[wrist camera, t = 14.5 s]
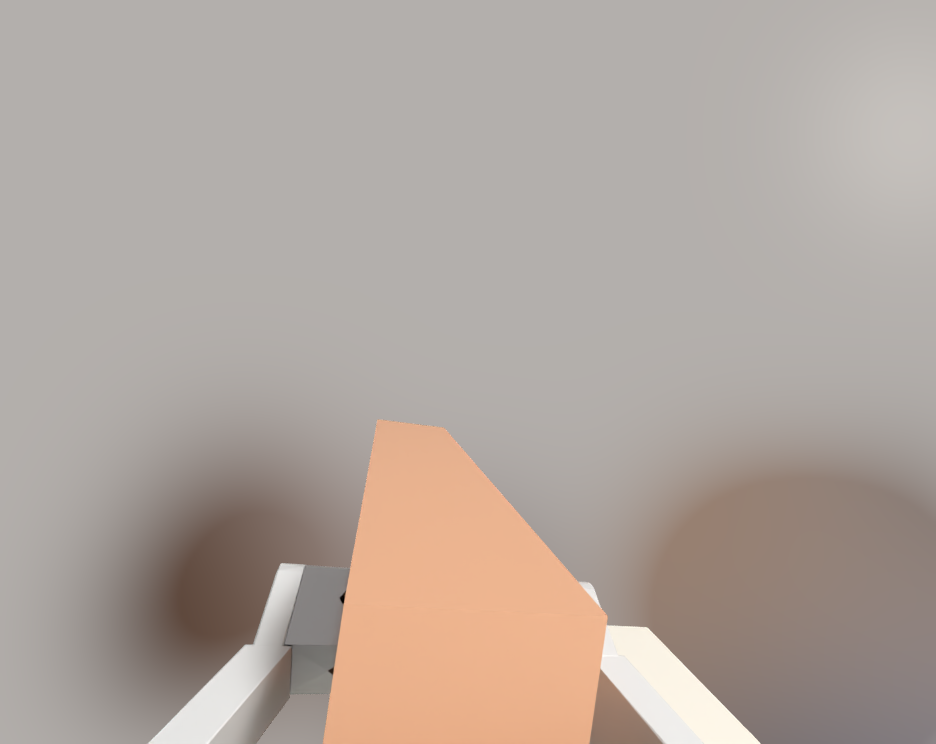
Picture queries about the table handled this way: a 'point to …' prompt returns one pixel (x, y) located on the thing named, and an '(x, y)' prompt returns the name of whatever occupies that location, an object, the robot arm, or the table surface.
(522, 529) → the long brick
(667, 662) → the tall tower
